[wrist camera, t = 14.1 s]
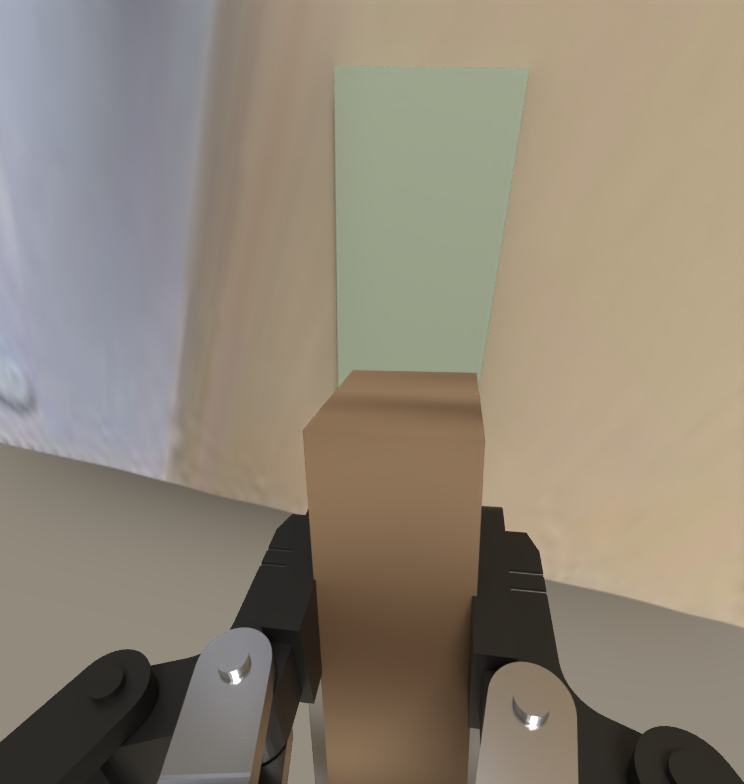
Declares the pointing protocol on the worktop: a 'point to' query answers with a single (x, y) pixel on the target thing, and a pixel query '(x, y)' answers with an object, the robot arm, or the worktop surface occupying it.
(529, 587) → the robot arm
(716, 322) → the worktop surface
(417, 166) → the board
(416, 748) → the tall wooden post
